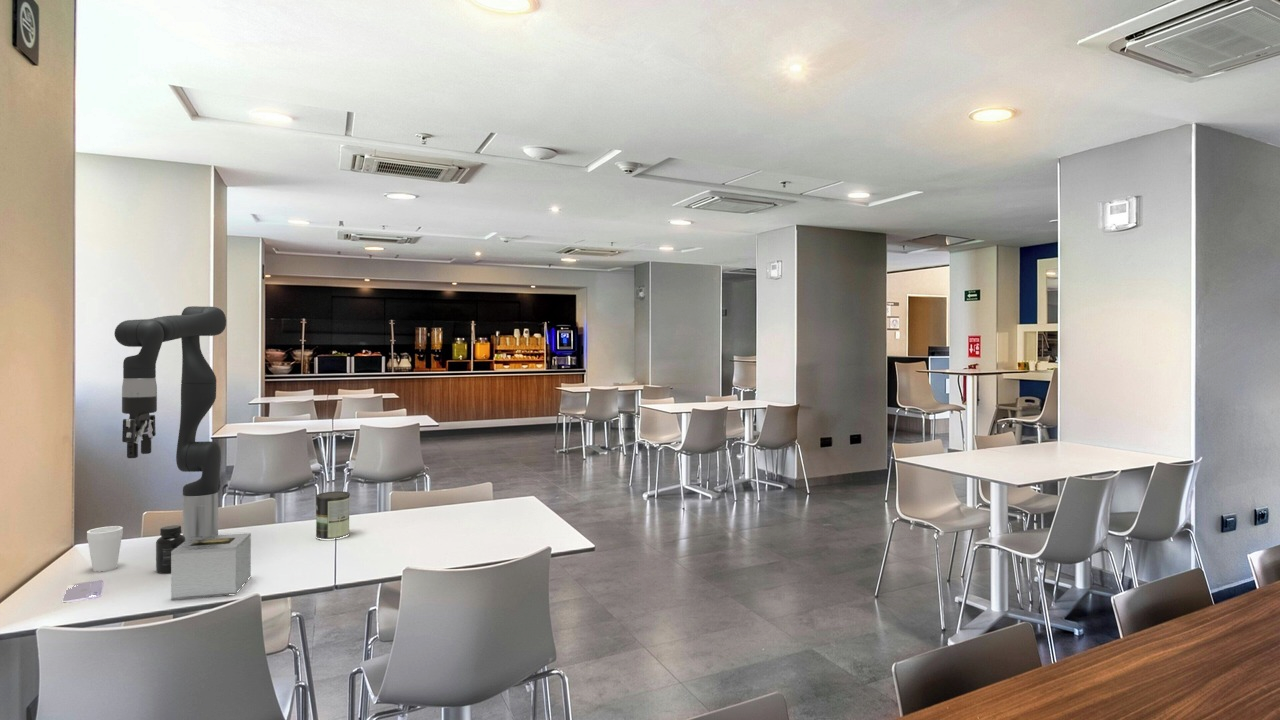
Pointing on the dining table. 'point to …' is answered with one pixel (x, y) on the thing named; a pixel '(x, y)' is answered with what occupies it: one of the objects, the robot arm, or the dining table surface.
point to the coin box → (210, 566)
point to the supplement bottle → (167, 547)
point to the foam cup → (104, 547)
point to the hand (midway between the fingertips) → (139, 455)
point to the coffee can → (332, 514)
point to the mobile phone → (84, 591)
